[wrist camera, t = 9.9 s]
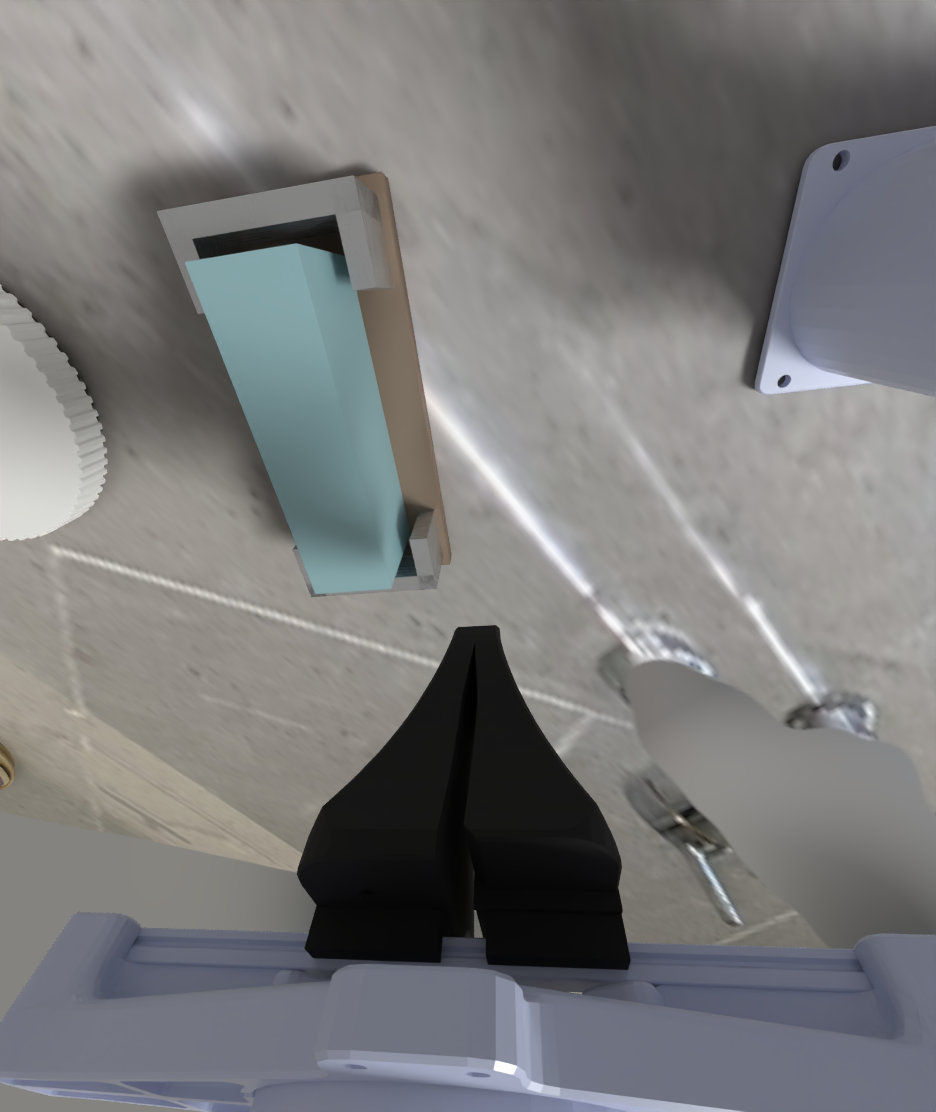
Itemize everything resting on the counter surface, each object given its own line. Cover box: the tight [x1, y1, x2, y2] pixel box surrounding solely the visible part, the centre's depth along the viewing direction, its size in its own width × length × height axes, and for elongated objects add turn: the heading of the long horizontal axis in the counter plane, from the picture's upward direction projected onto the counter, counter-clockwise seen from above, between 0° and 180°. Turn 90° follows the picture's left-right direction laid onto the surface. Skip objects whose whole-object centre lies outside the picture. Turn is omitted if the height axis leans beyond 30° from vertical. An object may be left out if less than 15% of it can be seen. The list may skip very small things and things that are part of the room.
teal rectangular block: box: [185, 243, 410, 594], centre depth 17 cm, size 3×12×5 cm, turn 7°
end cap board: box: [240, 172, 451, 565], centre depth 20 cm, size 7×16×1 cm, turn 7°
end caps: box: [157, 175, 443, 597], centre depth 18 cm, size 6×15×3 cm, turn 7°
